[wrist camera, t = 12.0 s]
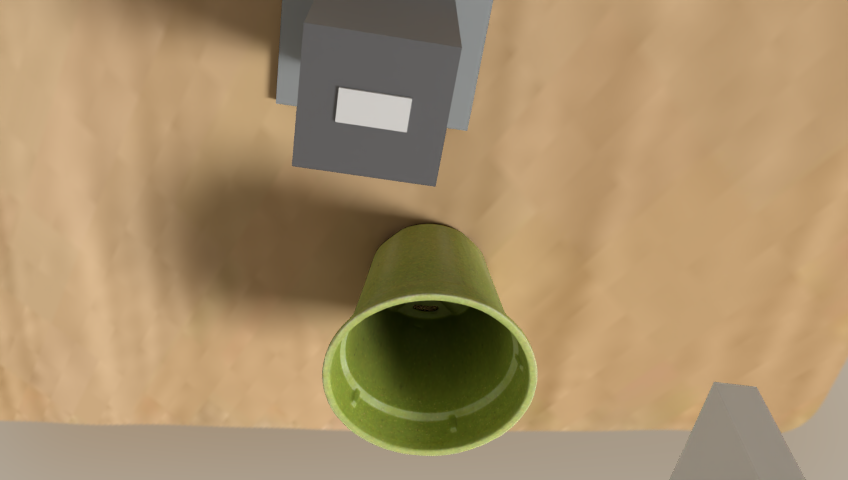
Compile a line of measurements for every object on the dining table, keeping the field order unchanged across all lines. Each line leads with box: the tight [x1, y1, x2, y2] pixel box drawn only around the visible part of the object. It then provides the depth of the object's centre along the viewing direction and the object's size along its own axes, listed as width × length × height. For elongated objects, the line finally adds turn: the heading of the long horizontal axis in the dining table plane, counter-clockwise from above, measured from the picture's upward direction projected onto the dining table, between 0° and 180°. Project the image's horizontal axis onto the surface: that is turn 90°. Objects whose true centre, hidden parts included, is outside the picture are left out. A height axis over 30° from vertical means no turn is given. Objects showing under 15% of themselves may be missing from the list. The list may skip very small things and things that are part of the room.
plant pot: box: [322, 224, 537, 456], centre depth 38 cm, size 9×9×9 cm
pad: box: [276, 0, 493, 131], centre depth 35 cm, size 9×9×1 cm
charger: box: [292, 0, 462, 186], centre depth 30 cm, size 5×5×10 cm
